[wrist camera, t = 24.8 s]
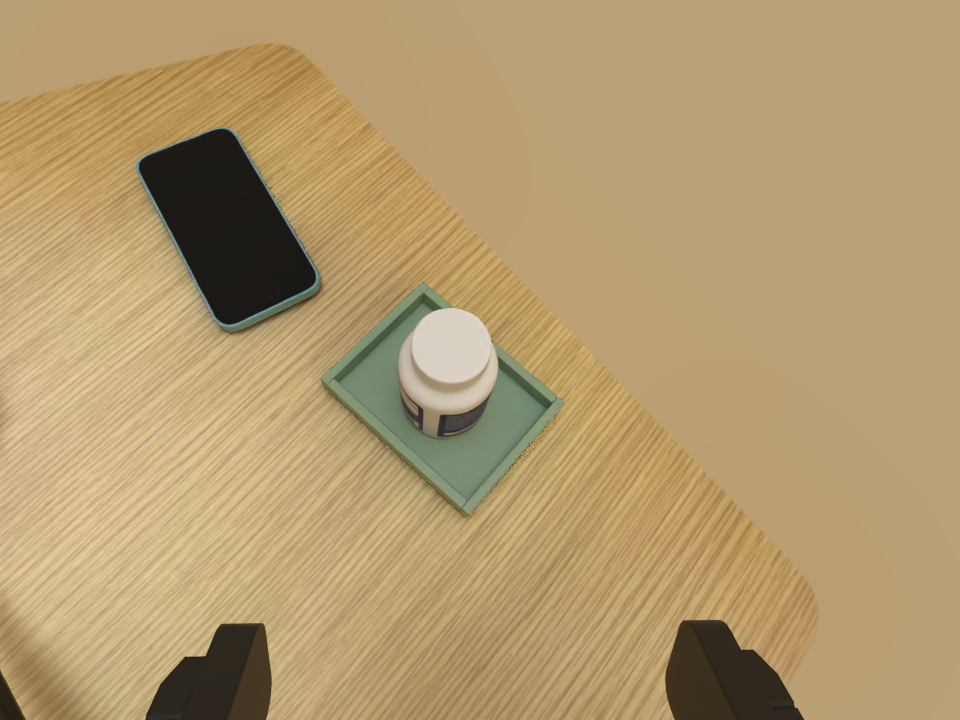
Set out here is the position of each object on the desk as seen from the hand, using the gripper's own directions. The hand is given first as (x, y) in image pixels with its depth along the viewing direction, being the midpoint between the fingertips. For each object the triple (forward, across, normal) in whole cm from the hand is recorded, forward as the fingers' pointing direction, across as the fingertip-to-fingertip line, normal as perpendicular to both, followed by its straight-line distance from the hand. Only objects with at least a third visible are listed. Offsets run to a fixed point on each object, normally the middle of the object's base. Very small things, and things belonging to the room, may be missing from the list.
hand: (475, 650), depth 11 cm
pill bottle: (+25, 0, +8) cm, 27 cm away
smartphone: (+34, +15, 0) cm, 37 cm away
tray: (+26, 0, +9) cm, 27 cm away
